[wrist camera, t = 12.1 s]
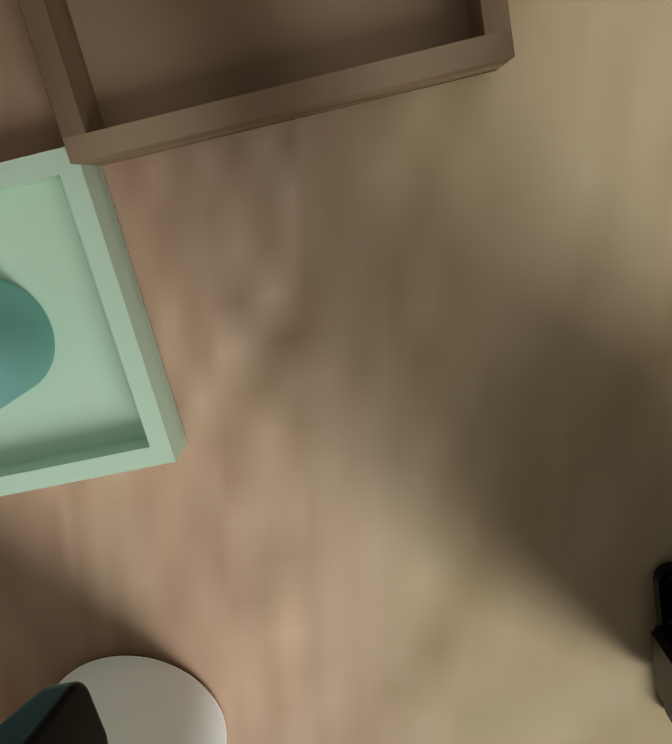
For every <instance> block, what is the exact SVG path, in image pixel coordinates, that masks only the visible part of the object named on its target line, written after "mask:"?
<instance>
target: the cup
mask: <svg viewBox="0 0 672 744" xmlns="http://www.w3.org/2000/svg"><path fill="white" fill-rule="evenodd" d="M73 681H78V682H82V683H83V684H84V685H85V686H86V687H87V688H88V690H89V692H90V695H91V697H92V700H93V702H94V705H95V707H96V709H97V712H98V714H99V717H100V719H101V722H102V724H103V727H104V729H105V731H106V735H107V740H108V744H226V740H227V732H226V725H225V720H224V717H223V714H222V712H221V709H220V707H219V705H218V704H217V702H216V700H215V699H214V698H213V696H212V695H211V694H210V692H209V691H208V690H207V689H206V688H205V687H204V686H203V685H202V684H201V683H200V682H199V681H197V680H196V679H195V678H193V677H192V676H191V675H189V674H188V673H186V672H184V671H183V670H181V669H179V668H177V667H175V666H173V665H170V664H168V663H165V662H162V661H159V660H155V659H151V658H146V657H140V656H112V657H106V658H101V659H97V660H94V661H91V662H89V663H86V664H84V665H82V666H80V667H78V668H76V669H75V670H73V671H72V672H70V673H69V674H68V675H67V676H65V677H64V678H63V679H62V680H61V681H60V683H59V684H62V683H68V682H73Z"/></svg>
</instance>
